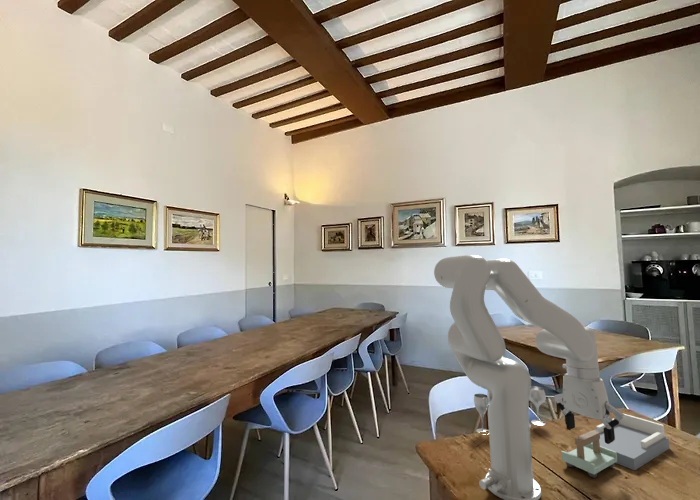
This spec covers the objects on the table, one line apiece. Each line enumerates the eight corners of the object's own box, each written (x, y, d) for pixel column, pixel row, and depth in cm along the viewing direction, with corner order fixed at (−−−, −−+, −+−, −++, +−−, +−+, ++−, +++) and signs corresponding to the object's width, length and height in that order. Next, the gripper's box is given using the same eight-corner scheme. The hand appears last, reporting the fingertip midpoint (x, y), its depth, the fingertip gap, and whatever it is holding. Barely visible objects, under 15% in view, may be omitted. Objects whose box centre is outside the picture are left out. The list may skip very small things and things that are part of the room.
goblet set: (482, 436, 111) (479, 395, 113) (471, 429, 117) (469, 389, 118) (551, 425, 118) (548, 386, 119) (538, 418, 124) (536, 381, 125)
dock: (634, 470, 90) (632, 445, 91) (578, 448, 102) (576, 425, 103) (669, 448, 101) (667, 425, 101) (614, 430, 113) (613, 410, 113)
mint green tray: (594, 481, 86) (592, 447, 87) (562, 466, 93) (560, 435, 94) (617, 467, 92) (615, 435, 92) (585, 454, 99) (583, 424, 99)
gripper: (544, 367, 100) (550, 427, 99) (611, 382, 85) (619, 452, 84) (559, 363, 104) (564, 420, 103) (626, 376, 89) (633, 444, 88)
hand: (589, 435), depth 93 cm, fingers open, 9 cm apart
